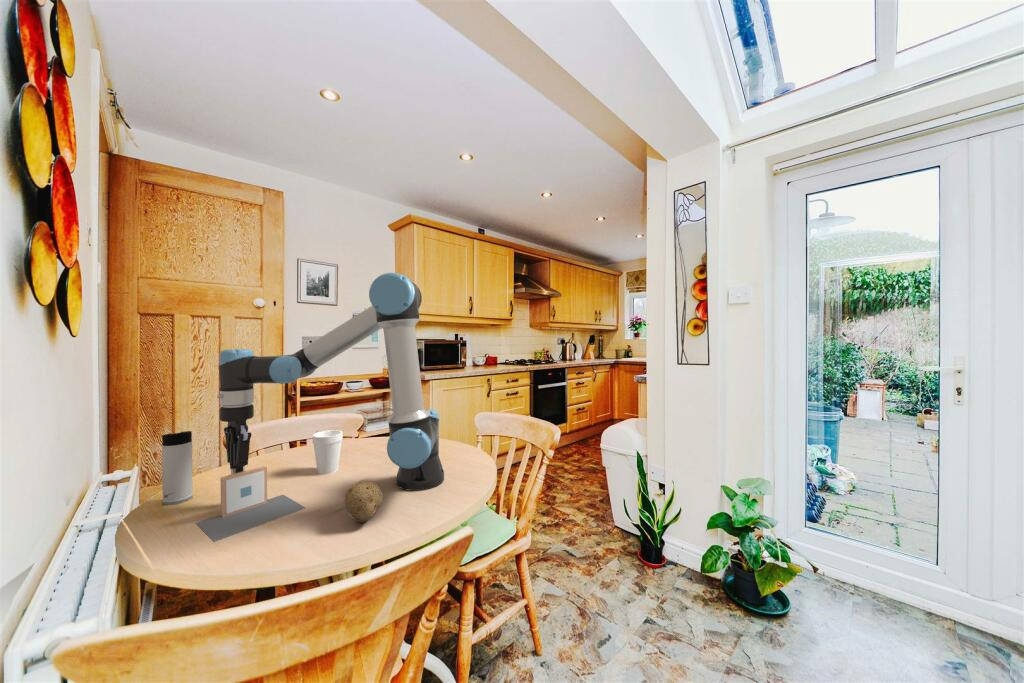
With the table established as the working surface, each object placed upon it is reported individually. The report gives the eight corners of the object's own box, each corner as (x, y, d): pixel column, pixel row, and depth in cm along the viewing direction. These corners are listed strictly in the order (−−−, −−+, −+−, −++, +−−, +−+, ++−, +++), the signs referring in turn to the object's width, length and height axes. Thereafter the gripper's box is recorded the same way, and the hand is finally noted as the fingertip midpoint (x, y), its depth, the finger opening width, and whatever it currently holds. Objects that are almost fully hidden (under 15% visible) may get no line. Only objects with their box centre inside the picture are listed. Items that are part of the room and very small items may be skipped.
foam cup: (314, 468, 129) (313, 431, 128) (342, 464, 133) (342, 429, 132) (311, 477, 120) (311, 438, 120) (342, 473, 124) (342, 435, 124)
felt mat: (306, 509, 98) (306, 507, 98) (213, 543, 82) (213, 541, 82) (283, 495, 106) (283, 494, 106) (195, 524, 90) (195, 522, 90)
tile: (267, 503, 101) (267, 467, 101) (223, 517, 93) (223, 478, 93) (264, 501, 102) (264, 466, 102) (220, 515, 94) (220, 477, 94)
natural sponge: (365, 508, 99) (365, 472, 99) (390, 515, 95) (390, 477, 95) (337, 524, 91) (337, 484, 90) (363, 532, 87) (362, 491, 87)
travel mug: (163, 509, 98) (162, 435, 98) (161, 501, 102) (160, 431, 102) (194, 501, 103) (193, 431, 102) (191, 494, 107) (190, 427, 107)
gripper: (212, 404, 101) (213, 488, 101) (228, 410, 93) (229, 501, 94) (244, 400, 107) (244, 479, 107) (262, 405, 99) (262, 491, 100)
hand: (237, 489), depth 100 cm, fingers closed
